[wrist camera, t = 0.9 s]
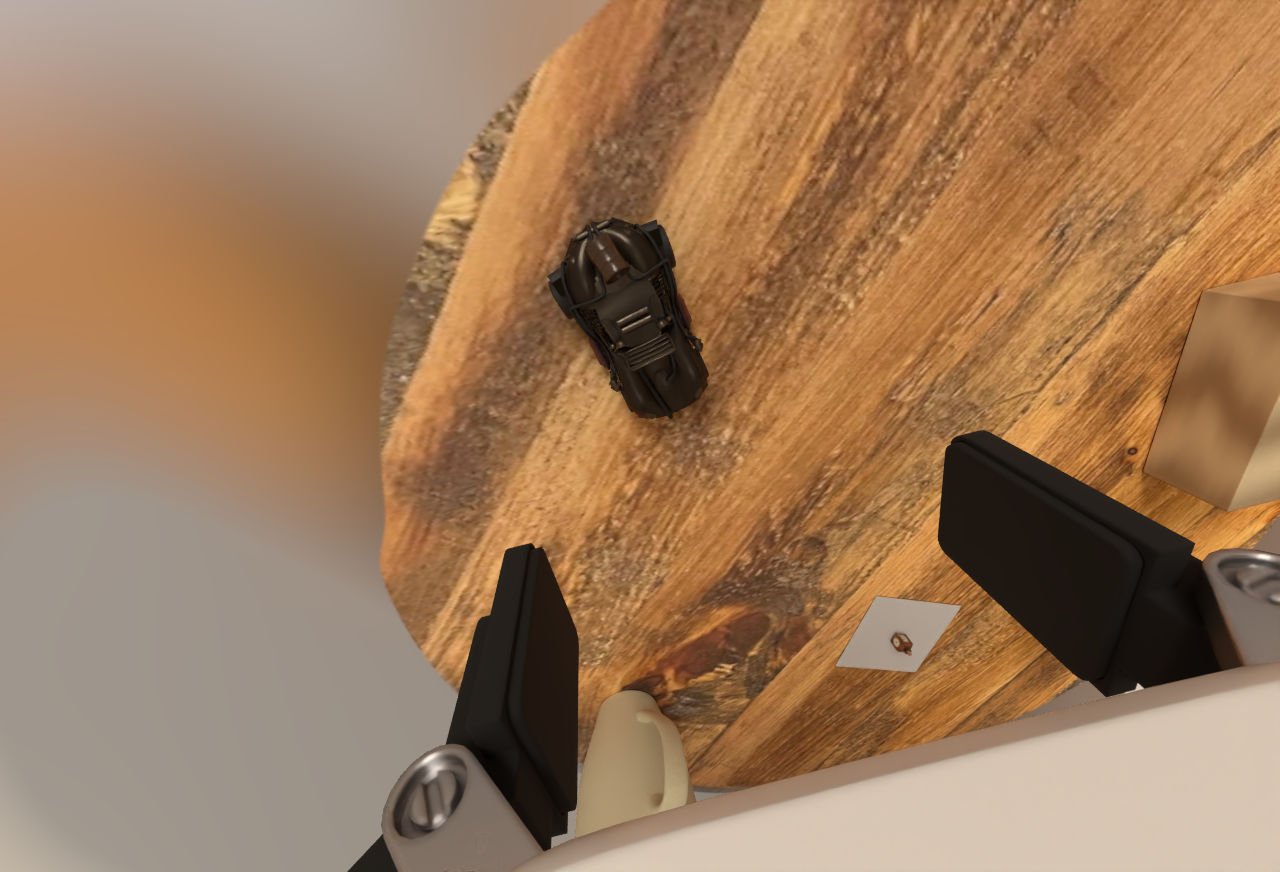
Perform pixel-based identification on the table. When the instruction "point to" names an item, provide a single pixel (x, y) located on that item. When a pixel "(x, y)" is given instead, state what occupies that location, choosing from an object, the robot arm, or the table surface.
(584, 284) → the toy car
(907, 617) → the gray square plate
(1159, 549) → the robot arm
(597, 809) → the mug
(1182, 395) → the birch block
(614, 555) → the table surface
